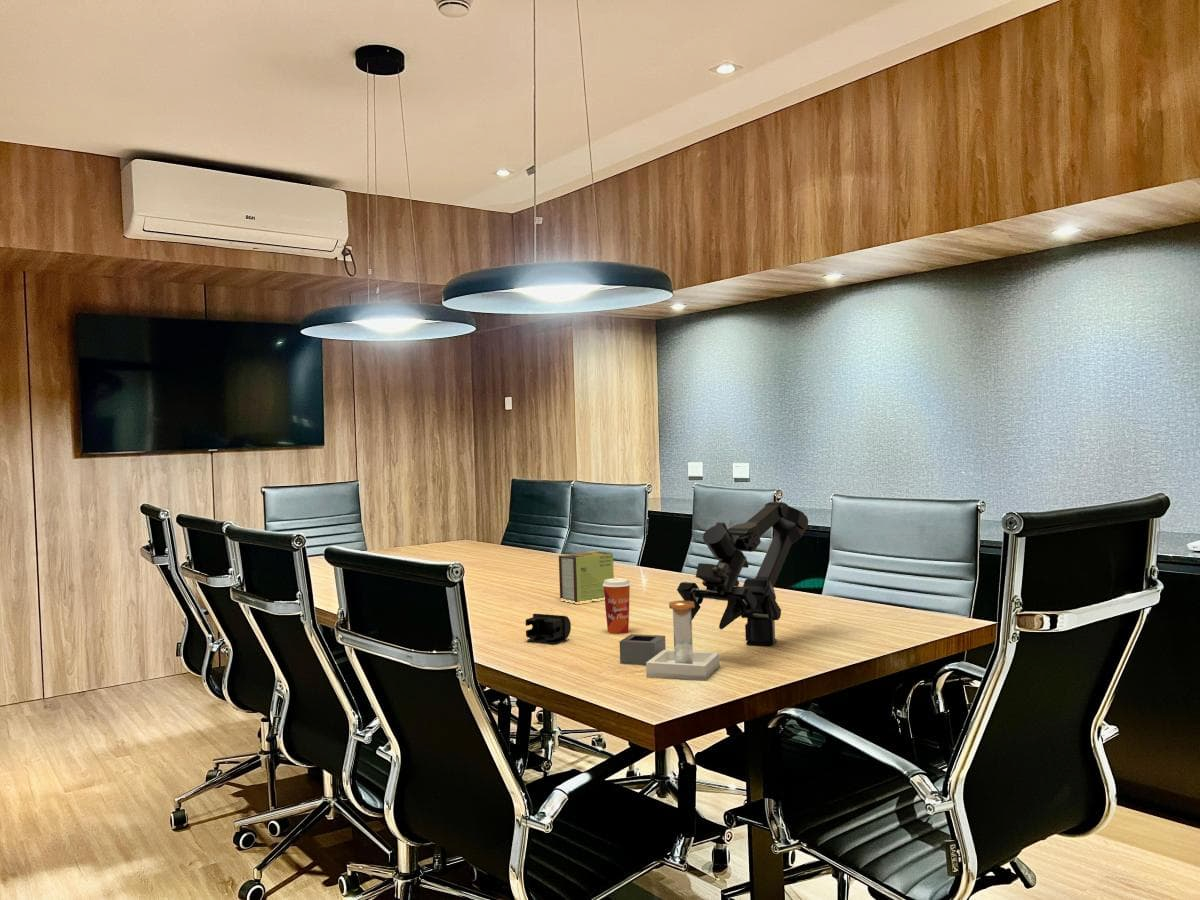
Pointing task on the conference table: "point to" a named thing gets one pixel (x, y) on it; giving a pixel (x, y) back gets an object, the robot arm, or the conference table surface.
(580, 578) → the protein box
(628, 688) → the conference table surface
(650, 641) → the block
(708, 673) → the tray
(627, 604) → the paper cup
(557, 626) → the end cap
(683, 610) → the hitch pin
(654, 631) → the conference table surface
